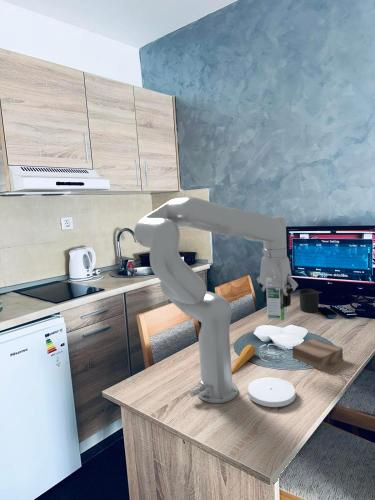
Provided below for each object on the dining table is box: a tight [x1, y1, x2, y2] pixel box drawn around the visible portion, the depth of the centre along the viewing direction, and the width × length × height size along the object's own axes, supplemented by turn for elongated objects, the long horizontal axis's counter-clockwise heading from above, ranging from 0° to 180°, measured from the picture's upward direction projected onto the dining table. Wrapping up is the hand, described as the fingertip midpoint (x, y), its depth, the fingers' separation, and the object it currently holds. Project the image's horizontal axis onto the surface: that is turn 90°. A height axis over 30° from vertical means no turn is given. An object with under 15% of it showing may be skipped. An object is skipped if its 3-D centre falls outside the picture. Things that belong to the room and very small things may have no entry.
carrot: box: [231, 344, 256, 374], centre depth 128 cm, size 20×4×4 cm, turn 147°
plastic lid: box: [247, 376, 297, 408], centre depth 106 cm, size 14×14×2 cm
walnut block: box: [291, 338, 344, 372], centre depth 127 cm, size 12×12×5 cm
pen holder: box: [298, 288, 320, 313], centre depth 181 cm, size 9×9×10 cm
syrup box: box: [266, 278, 288, 321], centre depth 121 cm, size 6×6×14 cm
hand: (277, 303), depth 122 cm, fingers closed on syrup box, 7 cm apart
